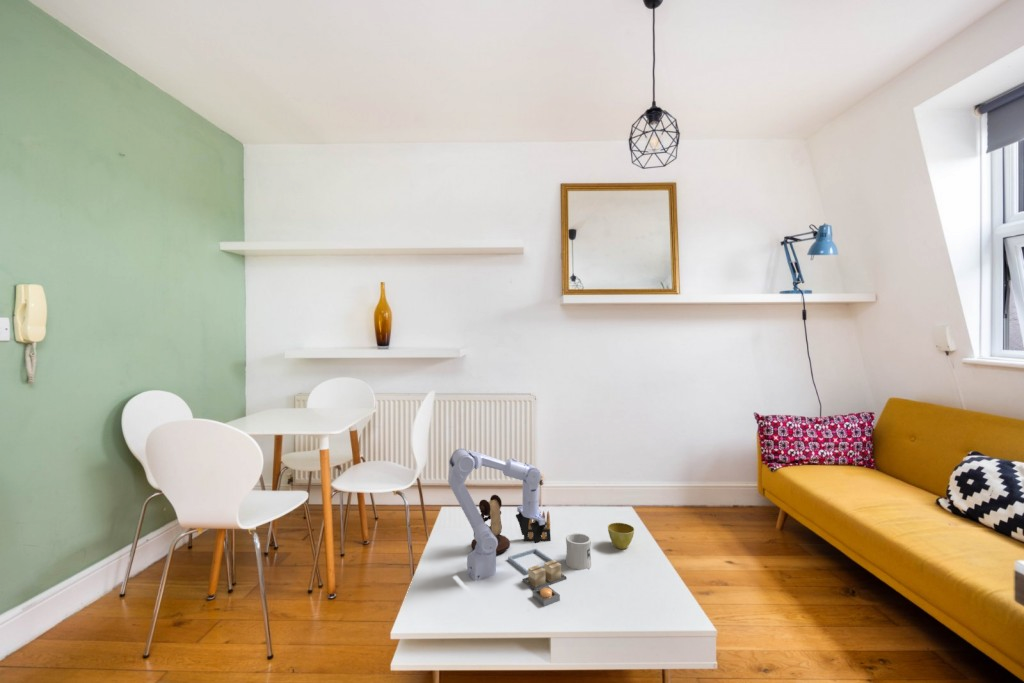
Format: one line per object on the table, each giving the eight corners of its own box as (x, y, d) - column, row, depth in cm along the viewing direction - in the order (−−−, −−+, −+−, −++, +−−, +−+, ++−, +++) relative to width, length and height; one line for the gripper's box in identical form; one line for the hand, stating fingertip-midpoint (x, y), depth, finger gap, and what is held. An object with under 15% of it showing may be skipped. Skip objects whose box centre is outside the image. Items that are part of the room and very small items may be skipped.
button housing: (543, 610, 138) (543, 601, 138) (532, 600, 143) (532, 591, 143) (559, 604, 141) (559, 594, 141) (548, 594, 146) (548, 585, 146)
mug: (591, 574, 159) (591, 545, 159) (564, 571, 161) (564, 542, 160) (592, 557, 171) (592, 530, 171) (567, 554, 173) (567, 528, 173)
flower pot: (632, 540, 184) (632, 522, 184) (636, 552, 174) (636, 533, 174) (606, 539, 185) (606, 522, 185) (609, 551, 175) (609, 532, 175)
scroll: (493, 562, 167) (493, 507, 167) (463, 550, 176) (463, 498, 176) (517, 547, 179) (517, 495, 179) (488, 537, 188) (488, 488, 187)
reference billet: (535, 587, 148) (535, 573, 148) (528, 581, 152) (528, 567, 152) (545, 583, 150) (545, 569, 150) (538, 578, 154) (538, 564, 154)
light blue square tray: (526, 578, 156) (526, 571, 156) (508, 562, 166) (508, 556, 166) (555, 568, 163) (555, 562, 163) (535, 554, 173) (535, 548, 173)
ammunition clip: (523, 542, 183) (523, 512, 183) (523, 540, 185) (523, 510, 185) (550, 542, 183) (550, 512, 183) (550, 540, 185) (550, 510, 185)
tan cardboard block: (551, 581, 152) (551, 567, 152) (544, 576, 155) (544, 562, 155) (561, 578, 154) (561, 564, 154) (554, 572, 157) (553, 559, 157)
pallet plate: (535, 596, 145) (535, 590, 145) (519, 583, 153) (519, 577, 153) (569, 583, 153) (569, 578, 153) (553, 571, 160) (553, 566, 160)
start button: (544, 604, 139) (544, 595, 139) (537, 598, 142) (537, 589, 142) (554, 600, 141) (554, 592, 141) (547, 594, 144) (547, 586, 144)
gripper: (552, 504, 159) (552, 543, 159) (528, 491, 171) (528, 528, 171) (535, 508, 155) (535, 548, 155) (512, 495, 167) (512, 532, 168)
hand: (530, 538), depth 163 cm, fingers open, 7 cm apart
